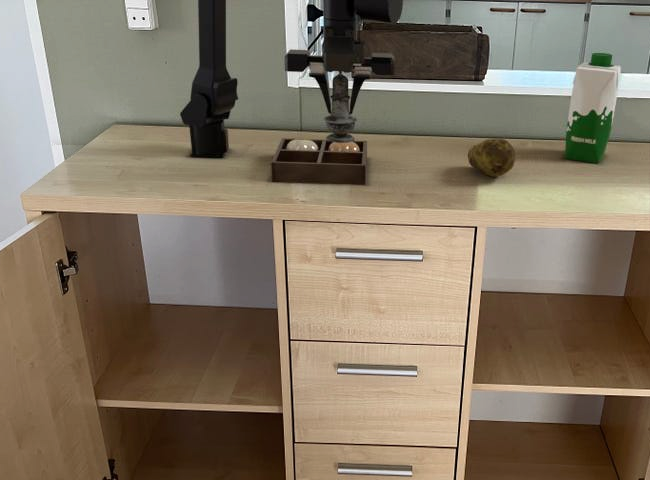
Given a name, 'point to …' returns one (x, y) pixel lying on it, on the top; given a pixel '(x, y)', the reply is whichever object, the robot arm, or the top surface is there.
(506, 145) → the potato
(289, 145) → the cream egg
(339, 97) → the grey chess piece
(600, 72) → the milk carton
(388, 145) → the top surface
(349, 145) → the brown egg
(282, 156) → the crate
